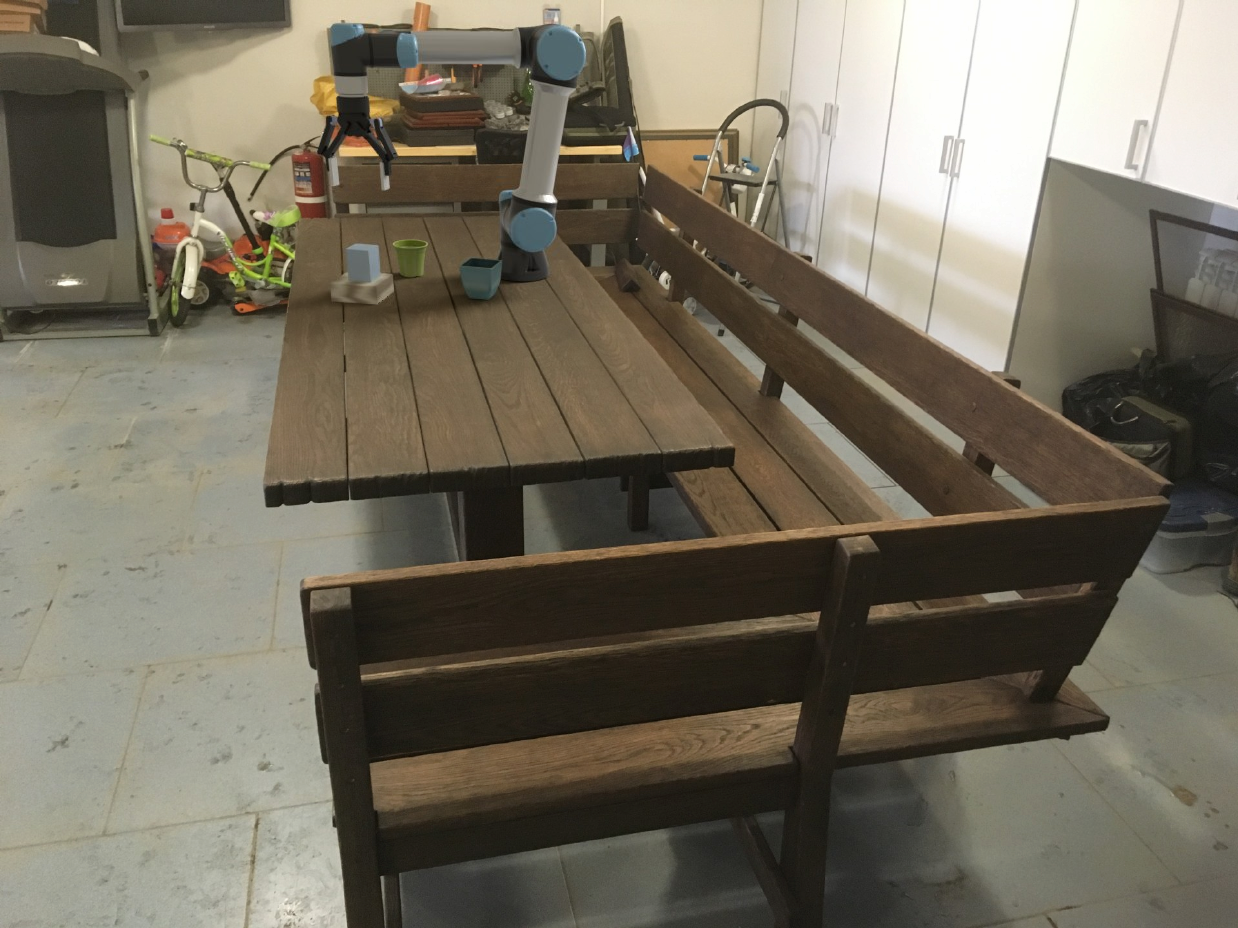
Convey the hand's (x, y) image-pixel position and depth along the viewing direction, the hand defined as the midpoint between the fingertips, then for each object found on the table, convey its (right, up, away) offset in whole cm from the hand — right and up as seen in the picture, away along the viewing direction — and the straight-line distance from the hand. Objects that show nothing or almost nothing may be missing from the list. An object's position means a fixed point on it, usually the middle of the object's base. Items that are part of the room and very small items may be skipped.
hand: (360, 187), depth 241 cm
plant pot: (+6, -16, +30) cm, 35 cm away
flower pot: (+28, -25, +13) cm, 40 cm away
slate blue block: (-1, -21, +9) cm, 22 cm away
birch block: (-2, -25, +11) cm, 27 cm away
